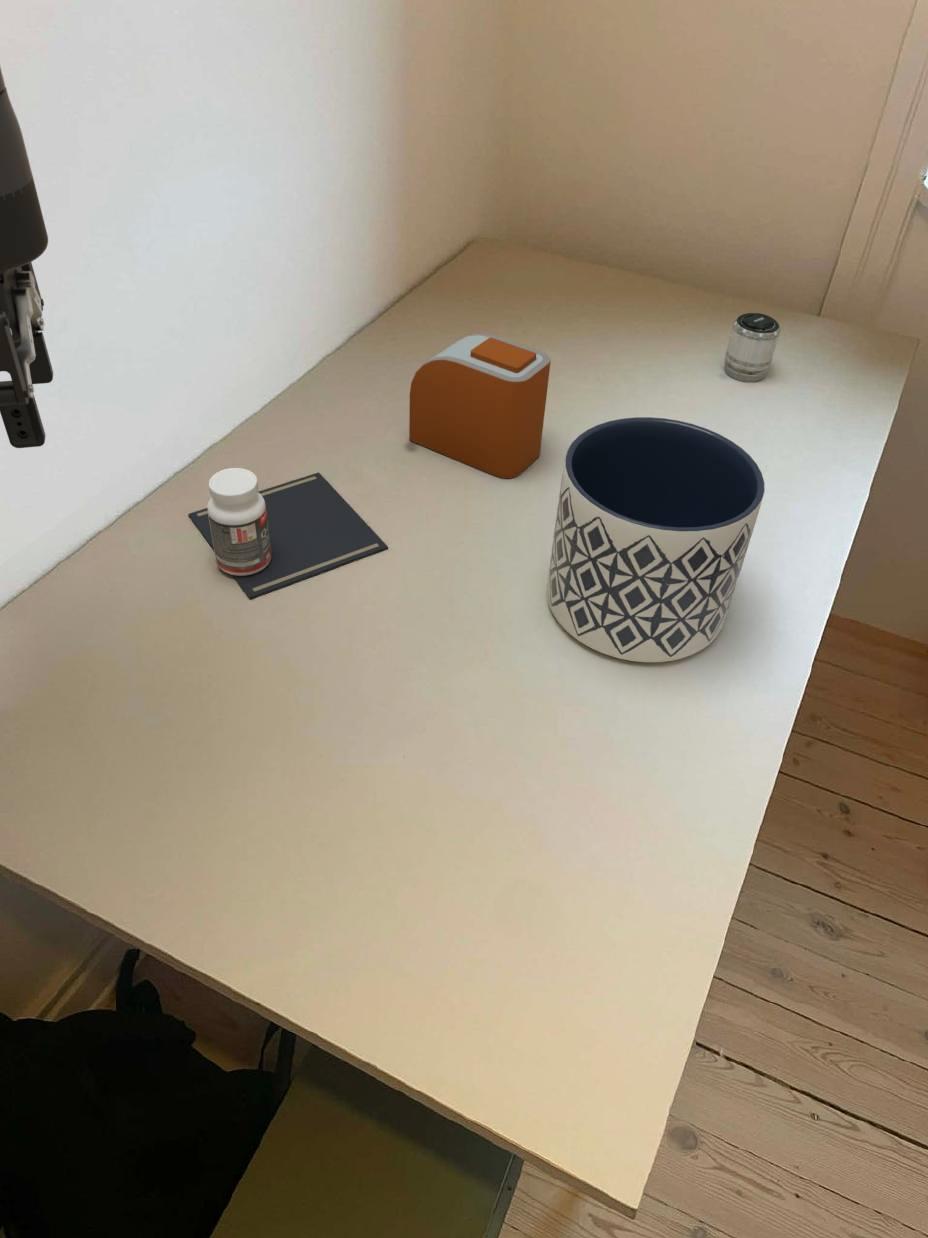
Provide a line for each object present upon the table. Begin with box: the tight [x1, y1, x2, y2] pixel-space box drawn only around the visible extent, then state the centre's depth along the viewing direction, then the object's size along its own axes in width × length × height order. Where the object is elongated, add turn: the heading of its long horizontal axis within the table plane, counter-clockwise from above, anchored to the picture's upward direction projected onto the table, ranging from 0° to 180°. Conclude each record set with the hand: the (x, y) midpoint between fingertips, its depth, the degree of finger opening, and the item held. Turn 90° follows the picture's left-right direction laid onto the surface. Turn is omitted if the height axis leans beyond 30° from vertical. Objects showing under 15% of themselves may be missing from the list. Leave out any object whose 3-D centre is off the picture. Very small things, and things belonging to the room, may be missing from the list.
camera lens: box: [724, 312, 781, 383], centre depth 133 cm, size 6×6×8 cm
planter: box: [546, 416, 766, 663], centre depth 93 cm, size 18×18×16 cm
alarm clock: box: [408, 332, 552, 479], centre depth 114 cm, size 15×8×14 cm, turn 57°
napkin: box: [187, 472, 389, 600], centre depth 105 cm, size 16×16×1 cm
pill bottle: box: [206, 467, 271, 576], centre depth 97 cm, size 6×6×10 cm
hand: (34, 411), depth 69 cm, fingers open, 8 cm apart
